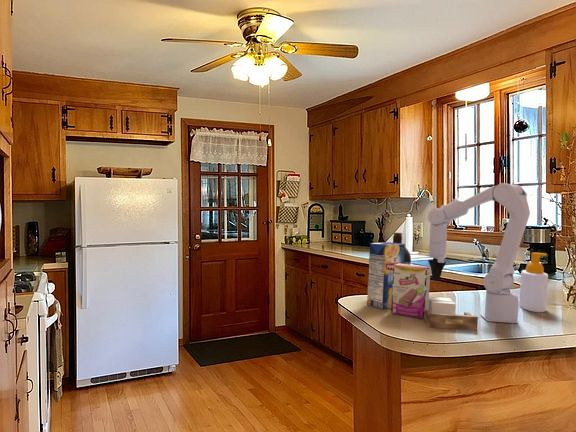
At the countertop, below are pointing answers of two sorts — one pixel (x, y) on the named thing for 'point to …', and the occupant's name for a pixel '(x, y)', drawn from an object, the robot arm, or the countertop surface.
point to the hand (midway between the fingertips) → (435, 280)
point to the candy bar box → (410, 290)
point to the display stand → (451, 321)
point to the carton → (441, 305)
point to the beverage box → (383, 272)
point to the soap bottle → (534, 285)
